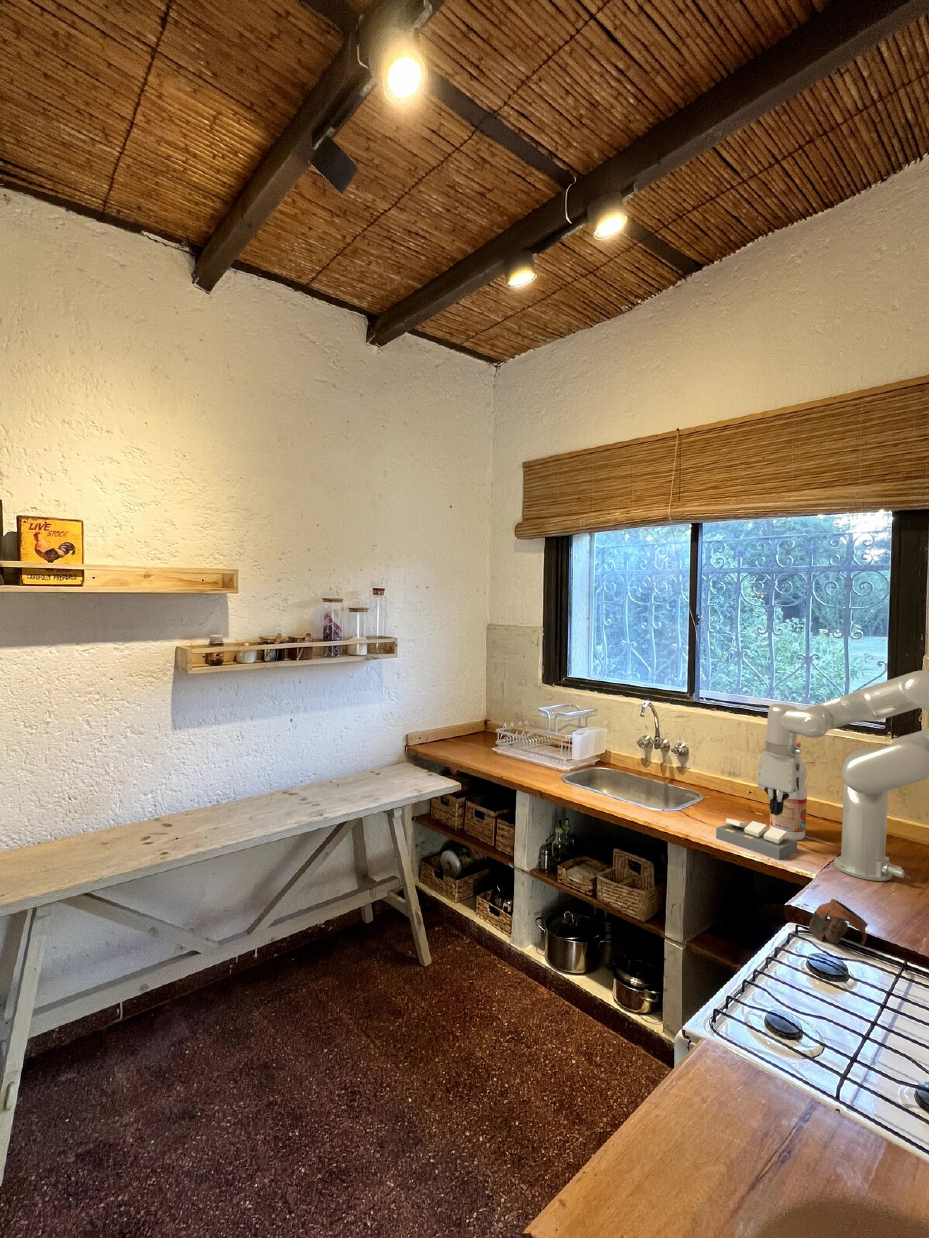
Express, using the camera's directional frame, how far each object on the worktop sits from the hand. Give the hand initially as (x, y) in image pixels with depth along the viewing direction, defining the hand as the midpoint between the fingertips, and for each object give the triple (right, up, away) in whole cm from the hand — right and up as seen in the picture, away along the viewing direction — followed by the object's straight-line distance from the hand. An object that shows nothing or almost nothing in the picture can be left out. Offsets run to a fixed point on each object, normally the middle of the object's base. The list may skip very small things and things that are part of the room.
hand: (775, 813), depth 167 cm
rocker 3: (-1, -6, -1) cm, 6 cm away
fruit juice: (+9, -10, +12) cm, 18 cm away
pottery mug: (-12, -11, -45) cm, 48 cm away
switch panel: (-4, -10, +3) cm, 11 cm away
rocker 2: (-4, -5, +3) cm, 8 cm away
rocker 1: (-7, -5, +7) cm, 12 cm away
